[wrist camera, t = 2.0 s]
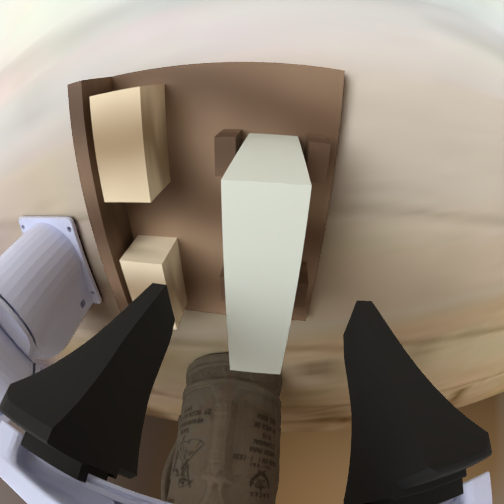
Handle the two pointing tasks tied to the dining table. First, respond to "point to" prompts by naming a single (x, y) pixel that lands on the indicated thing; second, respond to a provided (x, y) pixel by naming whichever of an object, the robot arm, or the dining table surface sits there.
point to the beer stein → (225, 437)
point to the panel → (263, 247)
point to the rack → (212, 163)
